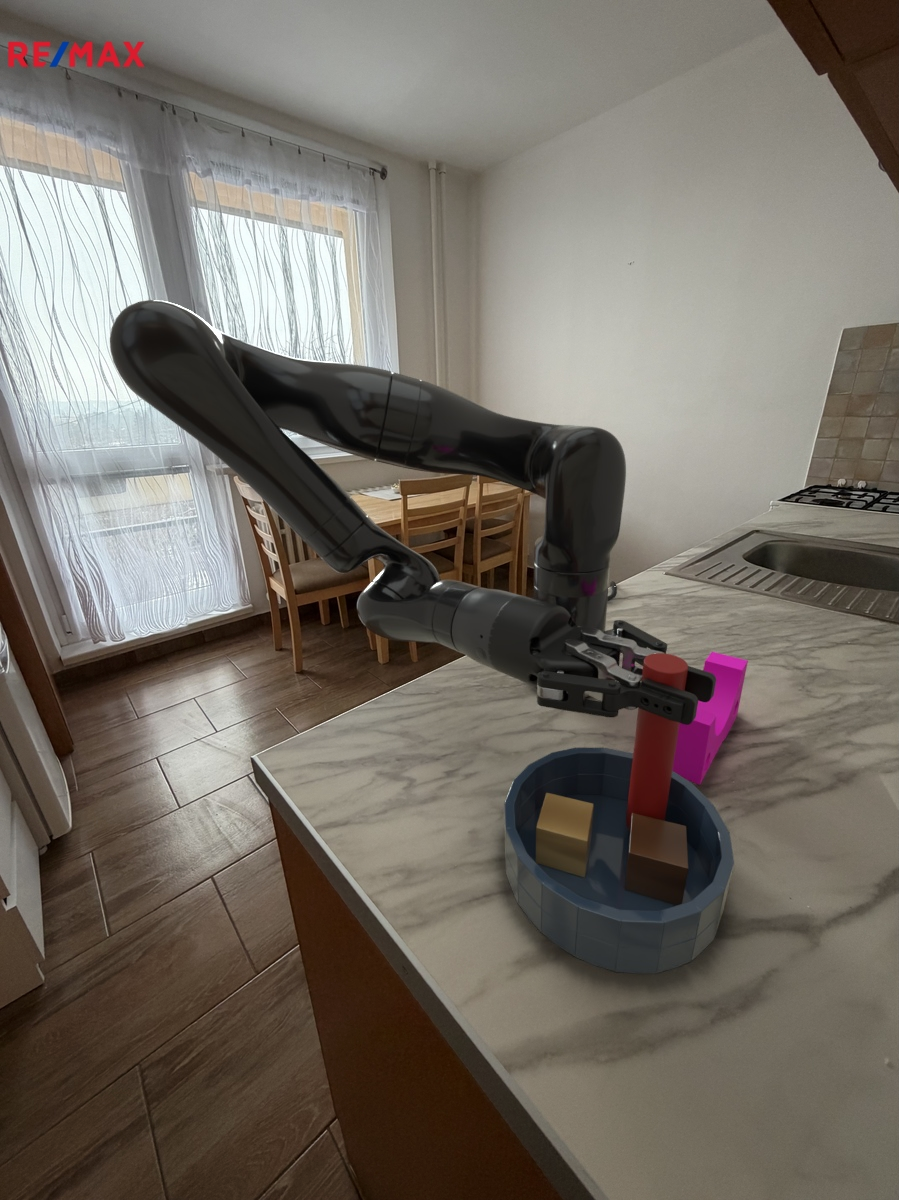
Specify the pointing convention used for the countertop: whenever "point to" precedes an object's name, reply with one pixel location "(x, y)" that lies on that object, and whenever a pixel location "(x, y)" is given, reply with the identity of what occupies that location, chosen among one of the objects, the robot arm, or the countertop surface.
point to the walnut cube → (657, 859)
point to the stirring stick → (655, 744)
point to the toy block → (710, 718)
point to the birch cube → (564, 834)
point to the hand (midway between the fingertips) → (703, 699)
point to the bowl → (615, 867)
